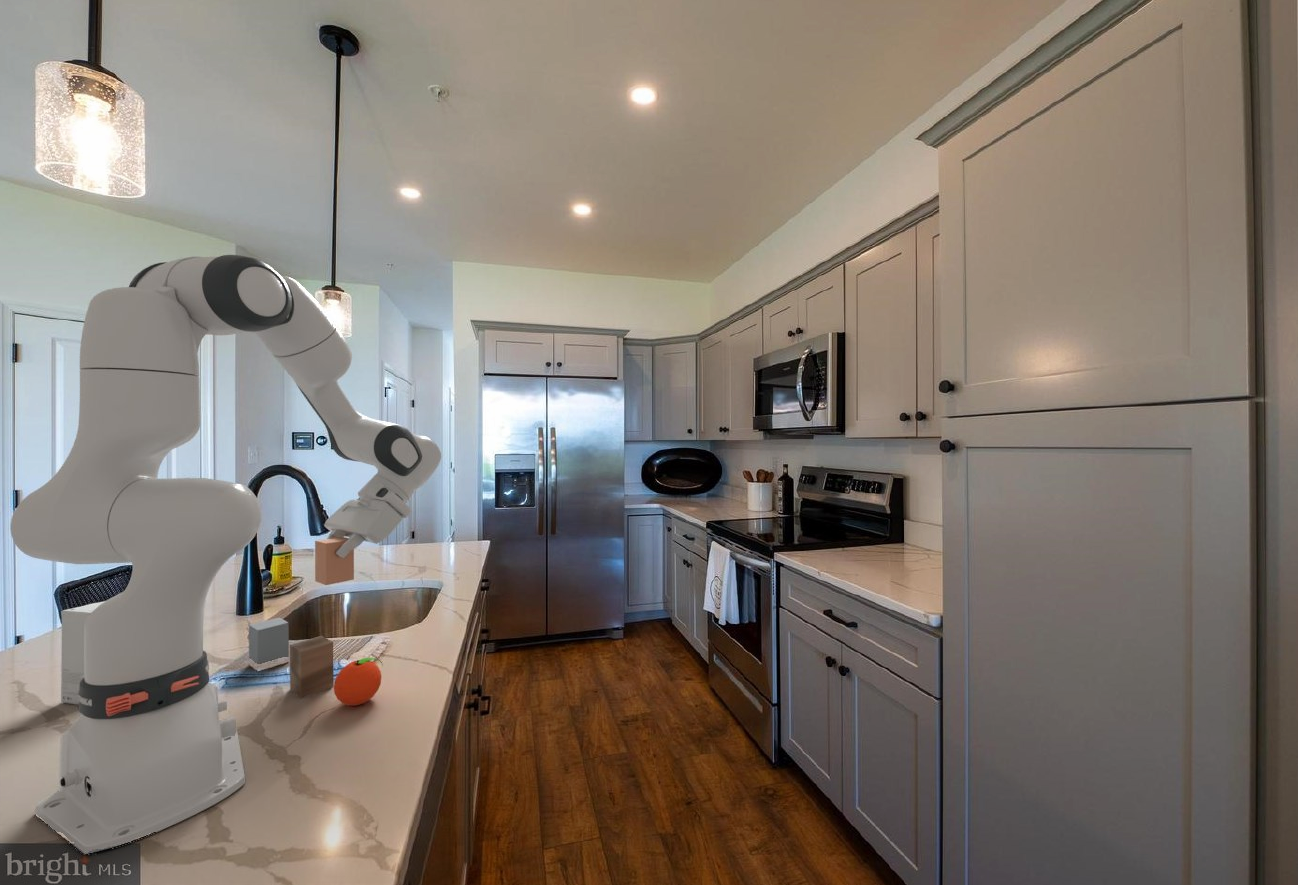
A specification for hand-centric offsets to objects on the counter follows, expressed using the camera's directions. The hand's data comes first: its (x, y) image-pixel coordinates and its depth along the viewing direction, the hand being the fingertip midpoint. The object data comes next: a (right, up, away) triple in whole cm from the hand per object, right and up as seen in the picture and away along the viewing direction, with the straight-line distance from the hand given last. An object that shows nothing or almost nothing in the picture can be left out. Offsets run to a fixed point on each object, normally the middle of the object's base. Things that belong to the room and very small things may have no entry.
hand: (330, 553), depth 98 cm
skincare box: (-33, -22, -11) cm, 41 cm away
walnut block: (+3, -22, -10) cm, 24 cm away
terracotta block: (0, -5, +1) cm, 5 cm away
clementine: (+14, -22, -14) cm, 30 cm away
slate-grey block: (-12, -22, 0) cm, 25 cm away
